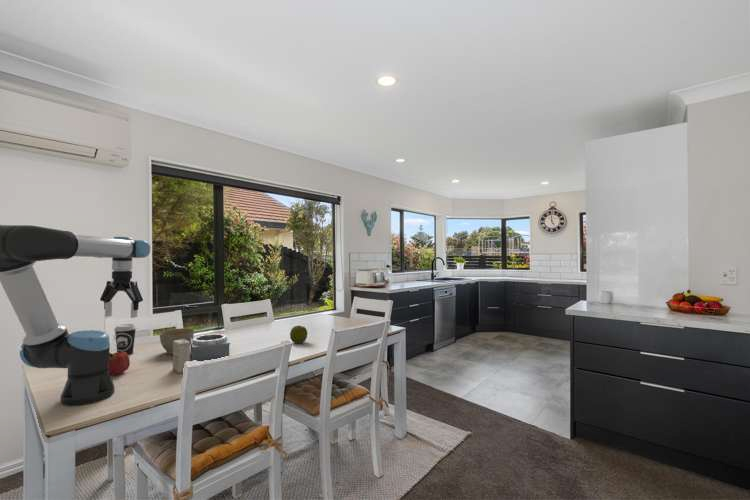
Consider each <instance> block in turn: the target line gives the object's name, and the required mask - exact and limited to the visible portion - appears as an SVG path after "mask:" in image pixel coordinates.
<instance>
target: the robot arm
mask: <svg viewBox="0 0 750 500" xmlns="http://www.w3.org/2000/svg"><path fill="white" fill-rule="evenodd" d="M150 252H151V244H150V243H149V242H148V241H146V240H141V239H133V238H132V237H130V236H113V237H105V236H93V235H81V234H75V233H74V232H73V231H68V230H61V229H55V228H49V227H43V226H39V225H38V226H37V225H31V224H30V225H28V224H26V225H22V224H21V225H20V224H19V225H17V224H16V225H14V224H13V225H12V224H11V225H9V224H8V225H7V224H0V284H1V286H2V289H3V291H4V293H5V294H6V297H7V298H8V301H9V302H10V305H11V306H12V308H13V311H14V313H15V314H16V316H17V319H18V322H19V323H20V325H21V328H22V329H23V331H24V333H25V336H24V337H23V340H22V344H21V346H20V348H21V350H20V351H19V356H20V359H21V361H22V362H23V363H24V364H25V365H26V366H28V367H32V368H37V369H67V379H66V383H65V384H64V387H63V389H62V392H61V394H60V404H61V405H63V406H66V407H67V406H70V407H71V406H73V407H74V406H83V405H89V404H92V403H96V402H99V401H103V400H106V399H107V398H110V397H111V396H113V394H115V384H114V382H113V379H112V377H111V375H110V374H109V353H110V346H111V343H110V336H109V334H108V333H107V332H105V331H102V330H78V331H74V332H71V333H70V334H69V332H68V330H67V327H66V326H65V325H64V324H60V323H58V321H57V318H56V316H55V313H54V311H53V309H52V306H51V305H50V302H49V300H48V298H47V296H46V293H45V291H44V289H43V287H42V284H41V282H40V280H39V277H38V276H37V273H36V270H35V269H34V265H35V263H36V262H42V261H43V262H44V261H51V260H68V259H72V258H73V257H86V258H87V257H88V258H89V257H90V258H91V257H92V258H99V259H100V258H101V259H102V258H104V259H105V258H106V259H107V258H109V259H110V258H111V259H112V260H111V261H112V262H111V270H113V271H111V279H112V280H107V281H106V286H104V287H105V288H104V290H103V291H102V294H101V296H100V298H99V301H101V302H103V308H104V317H105V318H108V317H112V315H113V312H112V311H113V302H112V299H113V298H114V297H116V294H117V293H118V292H124V293H125V294H126V295H127V297H128V298H129V299H130V300H131V303H130V318H131V319H134V318H137V317H138V310H139V306H140V304H139V303H141V302H143V301H144V299H143V296H142V294H141V291H140V289H139V286H138V282H137V280H135V281H133V280H132V278H133V271H132V270H133V258H134V259H143V258H147V257H148V256H149V255H150V254H151V253H150Z"/></svg>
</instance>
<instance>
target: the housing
mask: <svg viewBox="0 0 750 500" xmlns="http://www.w3.org/2000/svg"><path fill="white" fill-rule="evenodd" d="M227 337H228V336H227V334H223V333H210V334H209V333H207V334H202V335H197V336H193V338H190V342H191V344H190V353H191V354H190V358H191V357H192V358H191V361H192V360H197V361H204V360H211V359H217V358H221V357H225V356H229V357H230V345H231V342H230V341H229V338H227Z"/></svg>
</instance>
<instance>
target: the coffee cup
mask: <svg viewBox="0 0 750 500" xmlns="http://www.w3.org/2000/svg"><path fill="white" fill-rule="evenodd" d="M136 330H137V326H136V324H135V323H124V324H117V325H116V326H115V328H114V329H113V332H115V333H114V334H115V343H116V344H115V345H116V352H122V351H123V352H126V353H127V354H128V356H131V355H133V354H134V348H135V347H134V346H135V337H136Z"/></svg>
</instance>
